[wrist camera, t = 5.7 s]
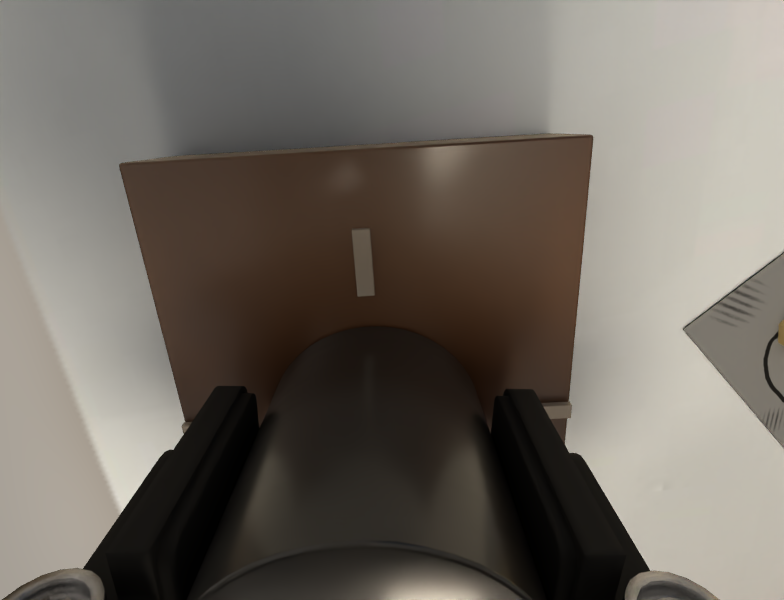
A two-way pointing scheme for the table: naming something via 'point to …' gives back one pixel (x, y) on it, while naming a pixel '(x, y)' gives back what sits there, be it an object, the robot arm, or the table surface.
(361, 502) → the dial
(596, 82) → the table surface
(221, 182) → the hob panel
